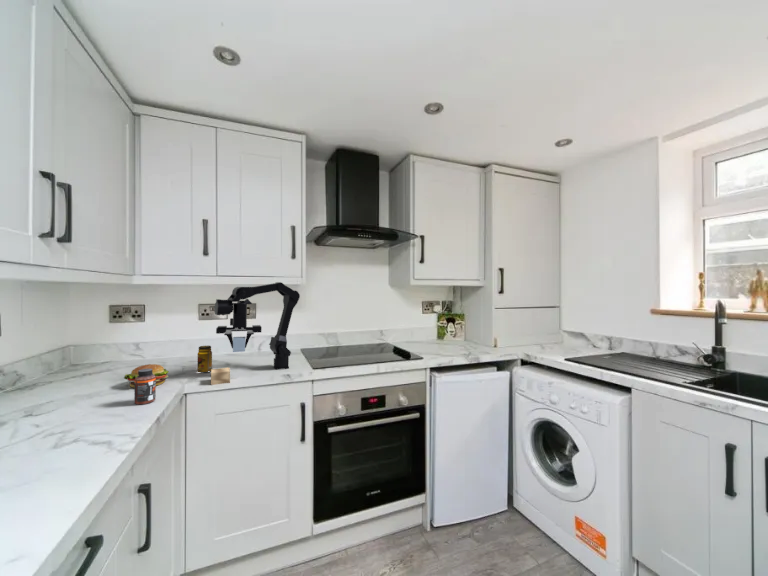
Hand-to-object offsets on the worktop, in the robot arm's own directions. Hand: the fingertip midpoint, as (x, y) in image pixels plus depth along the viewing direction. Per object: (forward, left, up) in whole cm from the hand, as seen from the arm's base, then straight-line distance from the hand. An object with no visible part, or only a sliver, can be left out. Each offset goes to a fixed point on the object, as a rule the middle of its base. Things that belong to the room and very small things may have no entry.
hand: (239, 348), depth 147 cm
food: (+34, +1, -13) cm, 37 cm away
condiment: (+14, -13, -13) cm, 23 cm away
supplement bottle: (+29, +25, -13) cm, 41 cm away
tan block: (+7, +8, -13) cm, 17 cm away
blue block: (0, 0, -1) cm, 1 cm away
